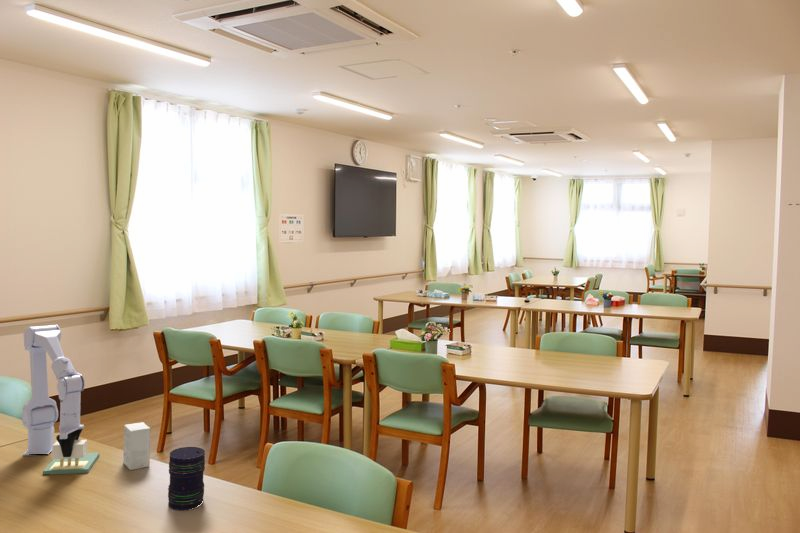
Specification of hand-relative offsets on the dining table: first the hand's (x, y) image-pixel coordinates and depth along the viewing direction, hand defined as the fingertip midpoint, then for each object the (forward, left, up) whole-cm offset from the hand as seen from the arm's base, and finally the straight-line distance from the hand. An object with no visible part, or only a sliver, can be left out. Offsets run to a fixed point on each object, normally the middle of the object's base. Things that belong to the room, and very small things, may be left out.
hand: (69, 453), depth 197 cm
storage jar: (+30, +39, -5) cm, 50 cm away
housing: (0, 0, -1) cm, 1 cm away
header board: (-4, 0, -5) cm, 6 cm away
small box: (-2, +20, -5) cm, 21 cm away
